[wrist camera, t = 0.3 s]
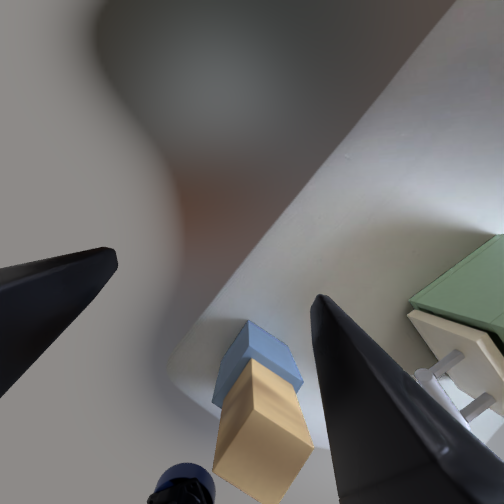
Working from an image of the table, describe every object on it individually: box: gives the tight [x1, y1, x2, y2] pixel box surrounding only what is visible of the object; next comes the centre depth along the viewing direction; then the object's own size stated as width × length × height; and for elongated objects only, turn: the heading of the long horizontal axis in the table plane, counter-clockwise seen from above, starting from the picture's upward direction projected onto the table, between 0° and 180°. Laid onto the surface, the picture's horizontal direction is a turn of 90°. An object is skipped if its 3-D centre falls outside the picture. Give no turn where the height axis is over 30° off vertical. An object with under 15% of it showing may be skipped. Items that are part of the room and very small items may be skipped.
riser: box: [212, 320, 304, 409], centre depth 18 cm, size 6×6×6 cm
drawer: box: [407, 309, 504, 431], centre depth 18 cm, size 17×10×6 cm, turn 125°
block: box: [212, 358, 314, 504], centre depth 13 cm, size 4×4×5 cm
